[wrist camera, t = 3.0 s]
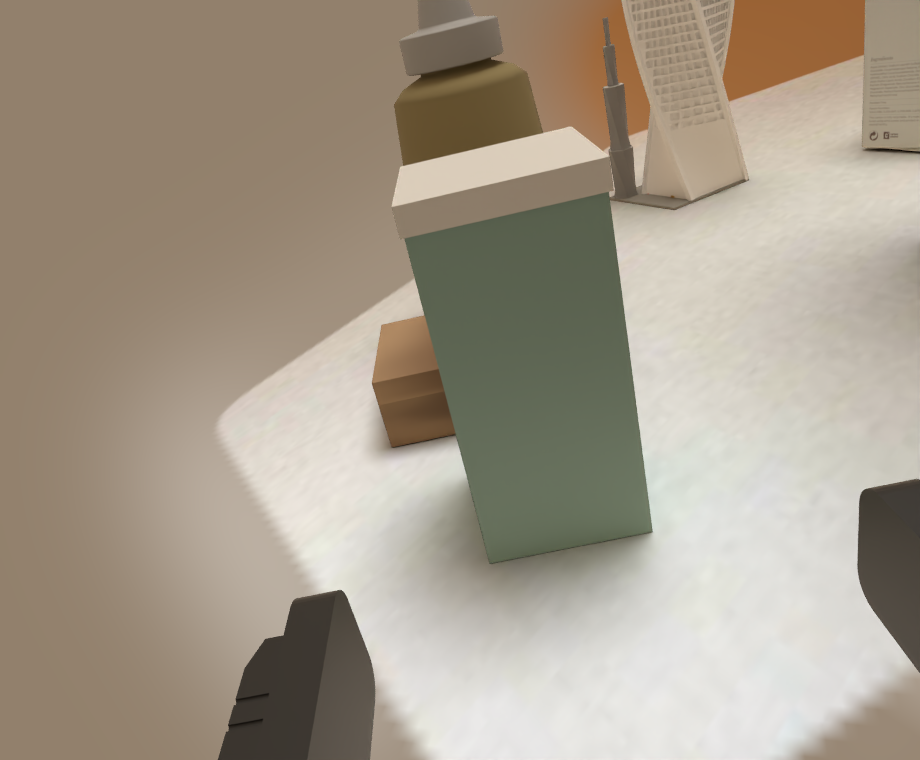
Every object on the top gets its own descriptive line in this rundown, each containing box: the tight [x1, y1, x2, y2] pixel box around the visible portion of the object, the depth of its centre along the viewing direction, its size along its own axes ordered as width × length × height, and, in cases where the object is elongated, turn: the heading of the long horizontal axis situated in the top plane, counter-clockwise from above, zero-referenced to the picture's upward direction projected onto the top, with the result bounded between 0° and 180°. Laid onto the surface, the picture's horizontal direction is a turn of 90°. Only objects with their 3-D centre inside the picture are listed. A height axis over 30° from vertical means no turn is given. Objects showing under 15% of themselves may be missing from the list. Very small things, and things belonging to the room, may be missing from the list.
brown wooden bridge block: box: [372, 316, 456, 447], centre depth 31 cm, size 8×6×3 cm
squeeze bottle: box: [394, 0, 543, 166], centre depth 36 cm, size 8×8×18 cm
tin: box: [392, 127, 653, 564], centre depth 22 cm, size 5×5×11 cm
